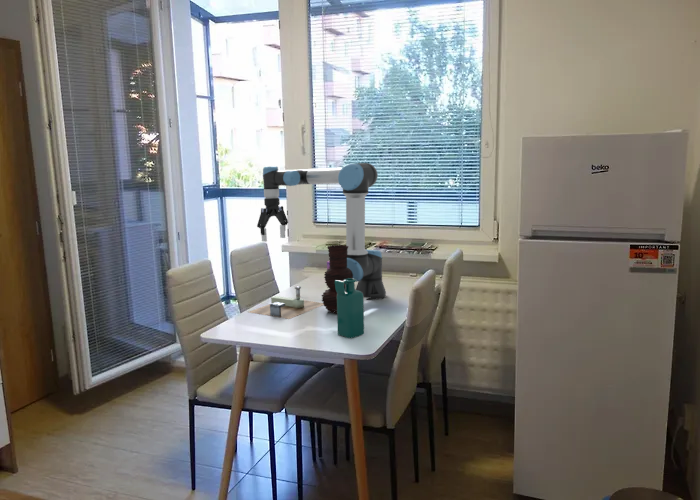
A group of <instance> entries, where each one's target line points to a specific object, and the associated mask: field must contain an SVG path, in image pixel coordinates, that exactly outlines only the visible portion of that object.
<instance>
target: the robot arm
mask: <svg viewBox="0 0 700 500" xmlns="http://www.w3.org/2000/svg"><path fill="white" fill-rule="evenodd" d="M377 180H378V171H377V169H376V167H375V166H374V165H373V164H371V163H369V162H353V163H352V162H351V163H348V164H345V165H343V166H342V167H331V168H308V169H307V168H302V169H285V170H282V169H281V170H279V167H278V166H275V165H274V166H272V165H271V166H264V167H263V169H262V182H263V197H264V199H263V200H264V206H265V208H264V207H261V208H260V214H259V218H258V221H257V223H256V224H257V225H256V227H257V228H258V229H259V230H260V235H261V242H266V243H267V242H268V240H267V239H268V236H267V228H266V226H267V225H268V223H269V220H270V219H271V217H276V219H277V221H278V222H279V224H280V225H279V235H280V239H285V238H286V226H287V225H288V223H289V220H288V218H287V215H286V213H285V210H284V206H283V205H280V204H281V203H280V186H287V187H292V186H293V187H294V186H295V187H296V186H297V185H298V186H299V185H331V184H332V185H333V184H334V185H336V184H337V185H339V186H340V187H341V188H342V194H343V195H344V197H345V201H346V202H345V204H346V205H345V207H346V208H345V210H346V211H345V212H346V213H345V215H346V217H345V218H346V219H345V222H346V224H345V225H346V226H345V228H346V229H345V232H346V233H345V235H346V236H345V237H346V239H345V240H346V243H345V245H346V246H349V247H348V250H347V251H348V253H347V268H349V269H350V270H351V271H352V273H353V279H356V280H357V281H356V282H355V283H357V285H356V287H355V290H358V291H361V292H362V293H363V298H366V299H365V300H366V301H367V300H369V301H371V300H374V301H375V300H380V299H384V298H386V296H387V291H386V287H385V286H384V281H383V255H382V251H381V250H378V249H366V248H365V247H366V245H365V244H366V240H365V239H366V197H367V195H368V194H369V188H371V187H373V186H374V185H375V184H376V182H377Z"/></svg>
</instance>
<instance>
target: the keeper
mask: <svg viewBox="0 0 700 500" xmlns="http://www.w3.org/2000/svg"><path fill="white" fill-rule="evenodd" d="M284 306H285V303H279V302H274V303H272V304H271V303H270V315H271V316H270V317H273V316H277V317H276V318H279V317H281V307H284Z"/></svg>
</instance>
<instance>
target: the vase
mask: <svg viewBox="0 0 700 500" xmlns="http://www.w3.org/2000/svg"><path fill="white" fill-rule="evenodd" d="M348 247H349V246H346V244H345V245H344V244H338V245H337V244H335V245H333V244H332V245H329V246H327V251H328V261H329V262H330V263H329V265H330V268H329V269H327V268H326V271H325V272H324V277H323V279H324V283H325V284H326V287H327V289H326V290H324V292H322V294H321V302H322V303H323V304H324V305H323V307H325V309H326V310H327V312H329V314H330V313H331V314H334V315H337V292H336V289H335V280H340V281H343V280H344V279H347V278H353V273H352V271H351V270H350V269H349V268H347V253H348V251H347V250H348ZM344 290H345V284H344Z"/></svg>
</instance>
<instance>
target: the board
mask: <svg viewBox="0 0 700 500" xmlns="http://www.w3.org/2000/svg"><path fill="white" fill-rule="evenodd" d="M270 304H271V303H270ZM270 304H266V305H264V306H260V307H258V308H256V309H253V310H249V311H248V313H251V314H257V315H263V316H270V317H275V318H279V319H280V318H281V319H284V320H285V319H288V320H291V319H293V318H295V317H298V316H301V315H302V314H303V315H304V314H305V313H308V312H310V311H312V310H315V309H317V308H319V307H322V306H323V307H324V304H323V302H318V301H311V300H305V299H304V307H302V308H293V307H290V306H284V307H281V317H277V316H271V315H270Z"/></svg>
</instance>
